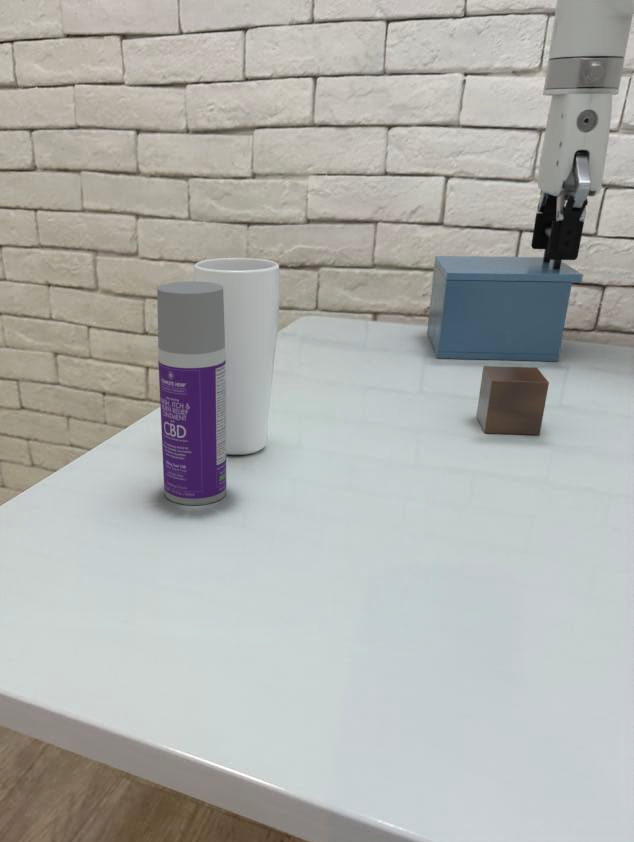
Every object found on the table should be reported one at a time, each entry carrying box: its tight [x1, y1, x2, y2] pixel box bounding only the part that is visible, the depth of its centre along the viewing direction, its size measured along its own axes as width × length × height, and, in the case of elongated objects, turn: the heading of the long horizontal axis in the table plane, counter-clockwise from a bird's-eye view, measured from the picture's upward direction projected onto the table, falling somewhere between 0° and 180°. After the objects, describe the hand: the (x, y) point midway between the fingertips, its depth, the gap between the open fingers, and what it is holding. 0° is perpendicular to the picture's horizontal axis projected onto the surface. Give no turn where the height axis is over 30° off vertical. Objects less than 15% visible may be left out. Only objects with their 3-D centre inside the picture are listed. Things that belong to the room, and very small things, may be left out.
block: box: [476, 365, 550, 436], centre depth 74 cm, size 5×5×5 cm
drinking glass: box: [193, 257, 281, 456], centre depth 67 cm, size 7×7×15 cm
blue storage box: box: [426, 263, 573, 362], centre depth 98 cm, size 14×13×9 cm
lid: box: [434, 222, 584, 283], centre depth 95 cm, size 15×13×5 cm
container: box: [156, 280, 227, 506], centre depth 58 cm, size 5×5×15 cm
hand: (553, 253), depth 95 cm, fingers open, 7 cm apart
